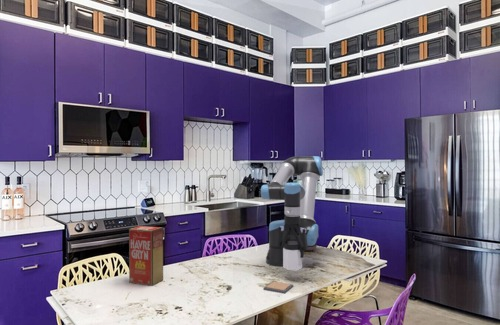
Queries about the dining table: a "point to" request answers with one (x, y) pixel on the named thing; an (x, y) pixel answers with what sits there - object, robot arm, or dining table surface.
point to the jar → (291, 255)
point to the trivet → (278, 287)
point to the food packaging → (146, 255)
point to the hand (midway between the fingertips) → (292, 263)
